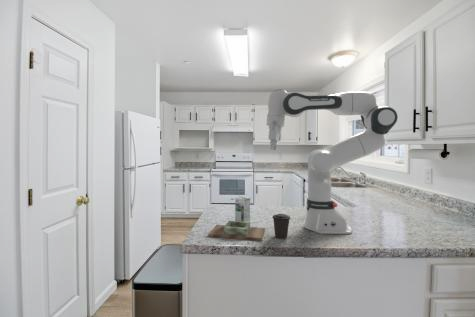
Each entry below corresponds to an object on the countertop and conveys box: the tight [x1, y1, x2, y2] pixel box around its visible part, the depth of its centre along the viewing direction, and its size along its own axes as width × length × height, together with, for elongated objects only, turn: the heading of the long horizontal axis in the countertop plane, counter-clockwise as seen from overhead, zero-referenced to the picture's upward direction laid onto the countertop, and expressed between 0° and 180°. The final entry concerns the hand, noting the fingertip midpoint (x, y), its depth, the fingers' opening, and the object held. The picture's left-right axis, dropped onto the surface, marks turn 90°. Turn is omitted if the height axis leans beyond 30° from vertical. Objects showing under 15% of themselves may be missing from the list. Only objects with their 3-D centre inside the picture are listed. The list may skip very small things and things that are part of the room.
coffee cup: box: [272, 213, 291, 240], centre depth 121 cm, size 8×8×10 cm
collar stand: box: [208, 220, 266, 242], centre depth 125 cm, size 24×14×4 cm, turn 79°
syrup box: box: [234, 195, 251, 223], centre depth 137 cm, size 6×6×14 cm
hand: (273, 149), depth 136 cm, fingers open, 8 cm apart
